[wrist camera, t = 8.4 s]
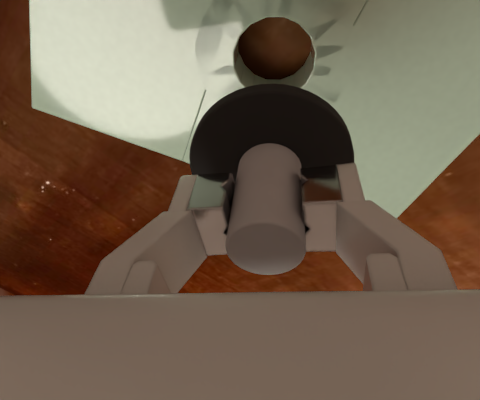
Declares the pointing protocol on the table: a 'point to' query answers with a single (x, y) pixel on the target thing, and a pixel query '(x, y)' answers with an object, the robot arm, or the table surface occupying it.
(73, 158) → the table surface
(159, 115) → the drain plate
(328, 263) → the table surface
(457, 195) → the table surface
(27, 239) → the table surface
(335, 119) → the stopper
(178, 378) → the robot arm
